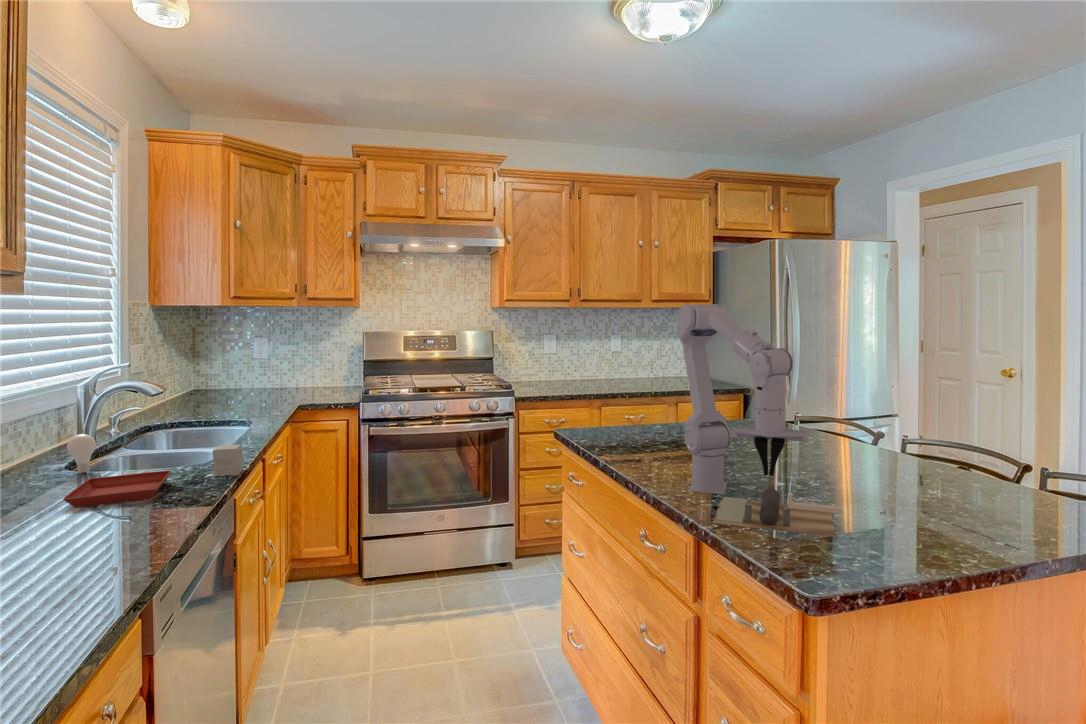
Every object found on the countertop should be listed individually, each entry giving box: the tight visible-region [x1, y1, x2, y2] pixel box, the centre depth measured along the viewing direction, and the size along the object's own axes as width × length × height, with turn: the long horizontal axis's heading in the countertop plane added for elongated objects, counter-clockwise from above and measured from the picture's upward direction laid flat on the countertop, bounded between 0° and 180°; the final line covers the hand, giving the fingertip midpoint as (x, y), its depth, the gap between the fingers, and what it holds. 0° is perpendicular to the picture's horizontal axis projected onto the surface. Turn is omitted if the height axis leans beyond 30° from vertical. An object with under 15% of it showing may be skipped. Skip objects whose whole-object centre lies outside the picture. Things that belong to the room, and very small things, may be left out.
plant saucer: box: [62, 470, 172, 508], centre depth 144 cm, size 18×18×3 cm
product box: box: [212, 443, 244, 477], centre depth 162 cm, size 6×6×7 cm
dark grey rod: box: [760, 488, 781, 526], centre depth 122 cm, size 14×3×3 cm, turn 157°
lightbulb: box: [66, 433, 97, 475], centre depth 164 cm, size 6×6×11 cm
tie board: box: [712, 496, 837, 538], centre depth 121 cm, size 17×22×4 cm
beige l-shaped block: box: [787, 491, 843, 514], centre depth 113 cm, size 2×9×3 cm, turn 67°
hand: (768, 474), depth 122 cm, fingers closed
